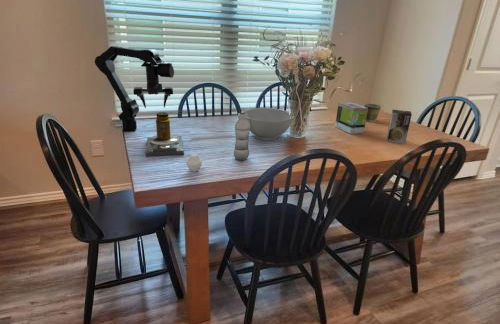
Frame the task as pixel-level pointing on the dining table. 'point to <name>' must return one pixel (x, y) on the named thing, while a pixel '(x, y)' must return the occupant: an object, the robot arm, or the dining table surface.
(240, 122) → the plastic bottle
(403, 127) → the coffee box
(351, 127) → the tea box
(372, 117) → the ceramic cup
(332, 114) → the dining table surface
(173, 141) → the scale pan
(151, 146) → the scale base
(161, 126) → the condiment
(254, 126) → the decorative bowl
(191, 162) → the white egg shape
